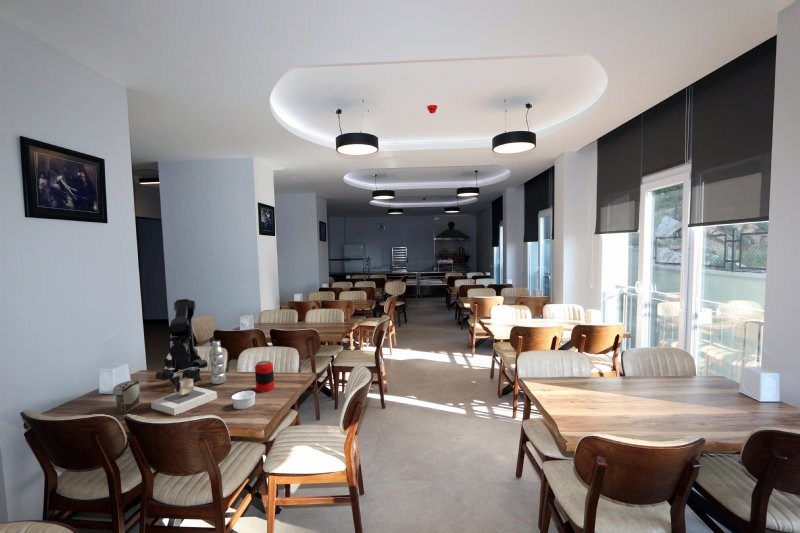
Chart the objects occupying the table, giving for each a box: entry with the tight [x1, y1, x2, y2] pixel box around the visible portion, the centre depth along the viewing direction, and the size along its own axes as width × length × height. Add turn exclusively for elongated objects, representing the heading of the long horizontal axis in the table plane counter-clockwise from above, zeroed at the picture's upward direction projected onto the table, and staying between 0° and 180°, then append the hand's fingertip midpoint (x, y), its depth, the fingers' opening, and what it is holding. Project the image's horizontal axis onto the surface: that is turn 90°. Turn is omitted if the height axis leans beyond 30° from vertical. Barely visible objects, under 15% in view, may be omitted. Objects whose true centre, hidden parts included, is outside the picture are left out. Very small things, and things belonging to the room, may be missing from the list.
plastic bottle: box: [208, 340, 227, 385], centre depth 180 cm, size 6×7×20 cm
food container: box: [112, 378, 141, 414], centre depth 155 cm, size 12×6×10 cm, turn 5°
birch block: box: [174, 377, 194, 395], centre depth 158 cm, size 5×5×5 cm
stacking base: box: [150, 385, 218, 416], centre depth 159 cm, size 18×16×3 cm
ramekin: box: [231, 390, 256, 410], centre depth 154 cm, size 9×9×4 cm
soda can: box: [254, 360, 275, 393], centre depth 171 cm, size 8×8×12 cm
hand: (184, 389), depth 159 cm, fingers closed on birch block, 5 cm apart
